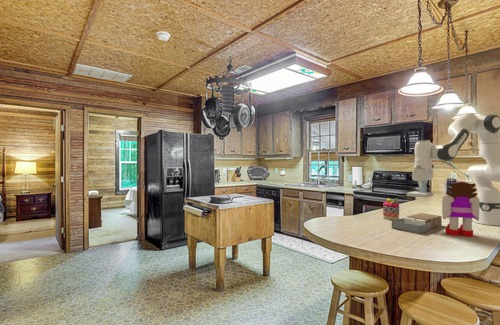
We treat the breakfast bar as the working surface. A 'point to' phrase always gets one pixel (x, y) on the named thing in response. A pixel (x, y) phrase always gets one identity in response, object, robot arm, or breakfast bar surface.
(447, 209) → the toy
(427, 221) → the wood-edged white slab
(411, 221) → the tile
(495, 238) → the breakfast bar surface
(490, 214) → the robot arm
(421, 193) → the blue-knobbed white block
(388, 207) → the cake
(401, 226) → the tray
